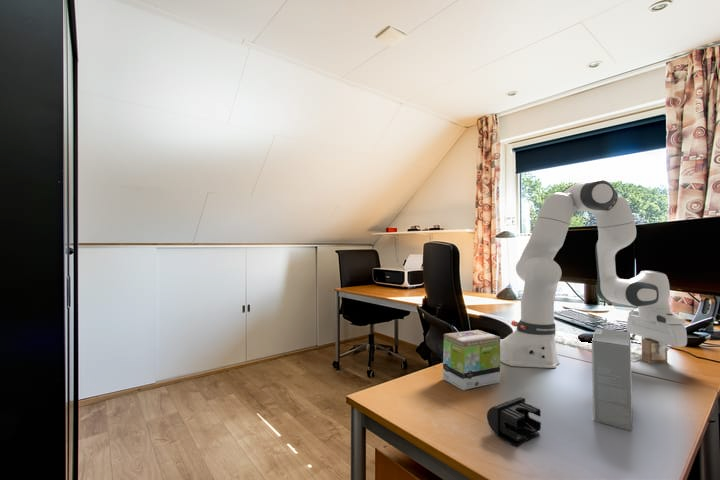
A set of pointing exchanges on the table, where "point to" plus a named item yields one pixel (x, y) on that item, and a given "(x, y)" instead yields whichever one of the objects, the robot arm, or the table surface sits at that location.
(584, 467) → the table surface
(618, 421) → the hard drive box
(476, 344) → the tea box
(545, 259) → the robot arm
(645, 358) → the brown rectangular block
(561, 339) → the carpet tile
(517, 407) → the end cap
